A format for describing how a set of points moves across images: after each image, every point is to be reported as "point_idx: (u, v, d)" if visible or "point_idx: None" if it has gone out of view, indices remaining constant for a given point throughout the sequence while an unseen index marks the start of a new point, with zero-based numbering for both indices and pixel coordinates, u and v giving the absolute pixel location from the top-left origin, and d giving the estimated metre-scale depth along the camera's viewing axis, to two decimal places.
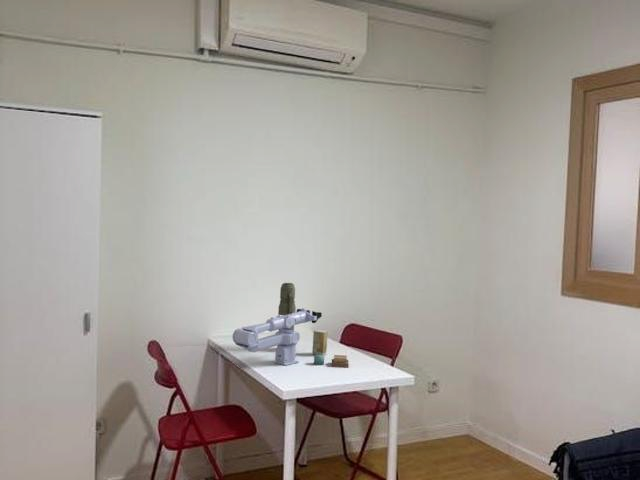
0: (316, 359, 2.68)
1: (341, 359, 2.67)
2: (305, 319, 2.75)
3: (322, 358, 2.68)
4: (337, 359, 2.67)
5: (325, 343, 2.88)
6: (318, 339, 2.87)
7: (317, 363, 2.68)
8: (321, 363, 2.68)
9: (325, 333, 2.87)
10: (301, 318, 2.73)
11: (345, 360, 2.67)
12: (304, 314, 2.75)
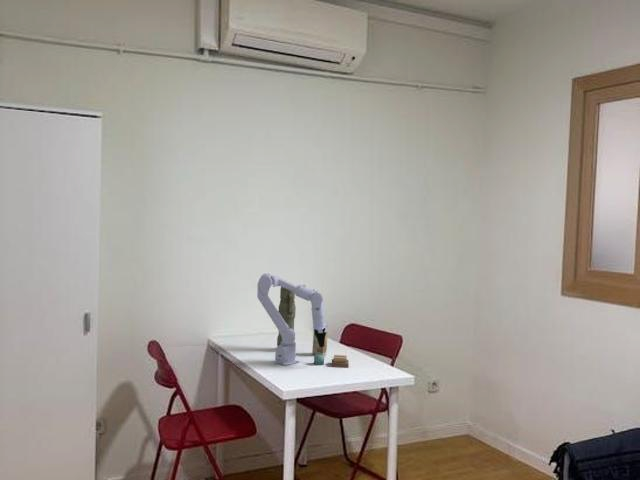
0: (316, 359, 2.68)
1: (341, 359, 2.67)
2: (317, 324, 2.68)
3: (322, 358, 2.68)
4: (337, 359, 2.67)
5: (325, 343, 2.88)
6: None
7: (317, 363, 2.68)
8: (321, 363, 2.68)
9: None
10: (319, 318, 2.68)
11: (345, 360, 2.67)
12: (322, 323, 2.69)
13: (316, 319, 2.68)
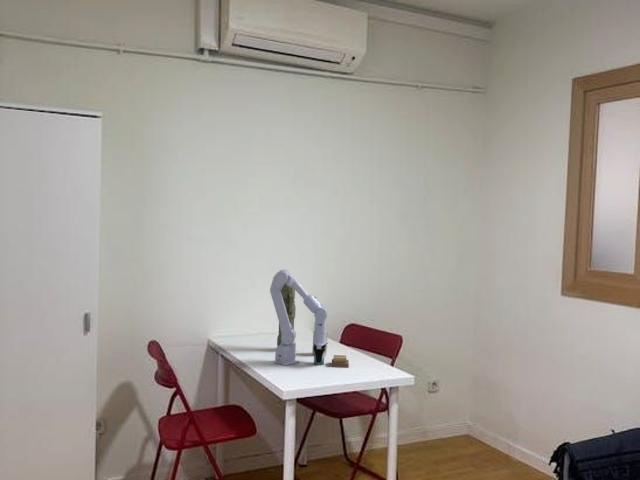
0: None
1: (341, 359, 2.67)
2: (317, 340, 2.67)
3: (322, 358, 2.68)
4: (337, 359, 2.67)
5: None
6: None
7: (317, 363, 2.68)
8: (321, 363, 2.68)
9: None
10: (320, 334, 2.67)
11: (345, 360, 2.67)
12: (323, 339, 2.68)
13: (317, 335, 2.67)
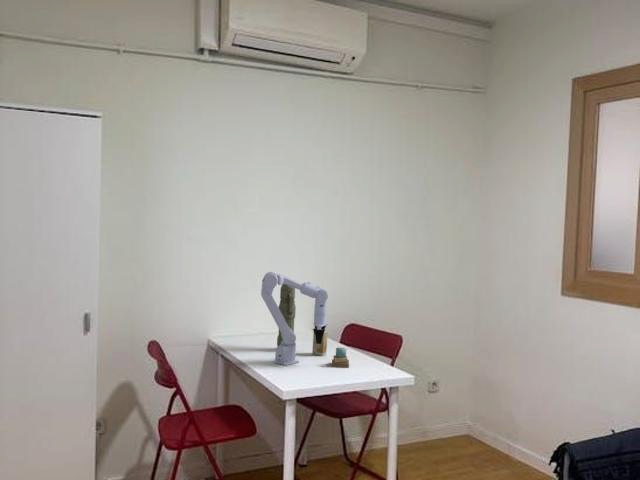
0: (338, 352, 2.67)
1: (342, 359, 2.66)
2: (318, 321, 2.70)
3: (344, 351, 2.67)
4: (338, 360, 2.66)
5: (325, 343, 2.88)
6: None
7: (339, 356, 2.67)
8: (343, 356, 2.67)
9: (325, 333, 2.87)
10: (320, 315, 2.70)
11: (346, 360, 2.67)
12: (323, 320, 2.70)
13: (317, 316, 2.70)
